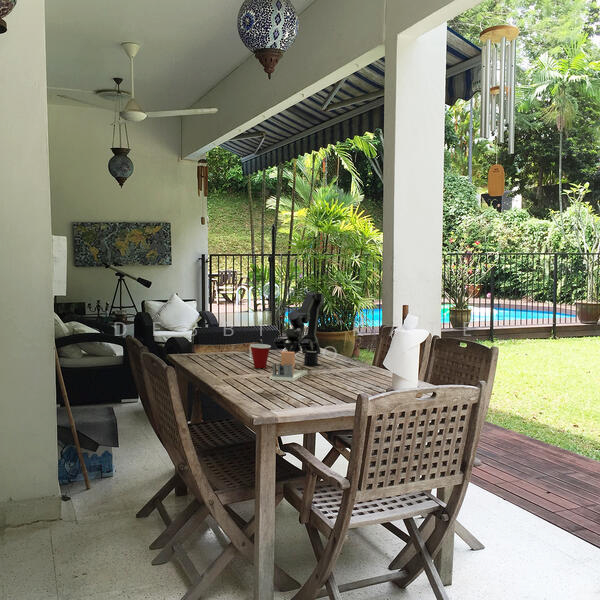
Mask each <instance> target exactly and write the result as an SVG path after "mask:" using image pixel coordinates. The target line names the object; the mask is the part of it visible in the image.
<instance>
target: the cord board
mask: <svg viewBox="0 0 600 600" xmlns="http://www.w3.org/2000/svg"><path fill="white" fill-rule="evenodd" d="M307 373H308V370H302V369H294V373H292V375H293V377H292V378H290V377H274V376H272V374H271V375H269V380H270V379H272V380H271V381H283V380H284V381H283V382H294V381H296V380H299V379H300V377H301V378H303V377H304V376H307V375H308V374H309V373H308V374H307ZM276 374H278V372H276ZM298 378H299V379H298Z"/></svg>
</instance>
